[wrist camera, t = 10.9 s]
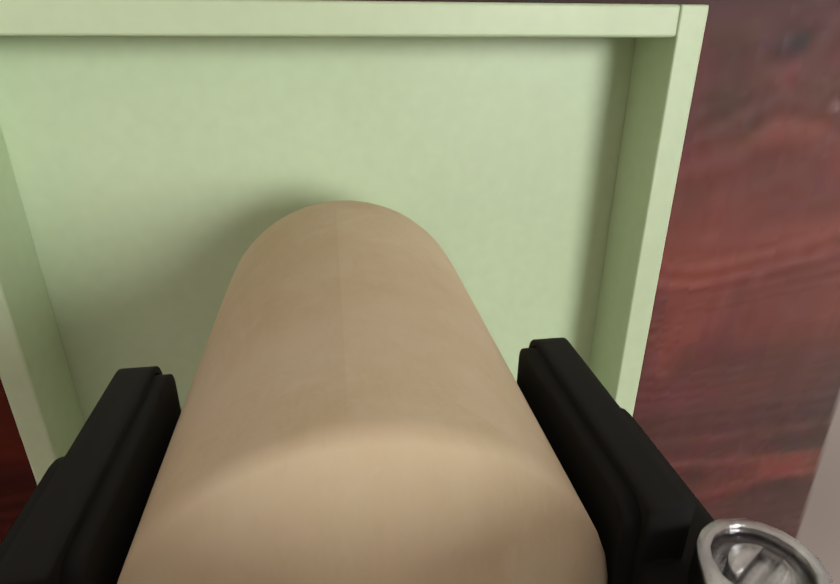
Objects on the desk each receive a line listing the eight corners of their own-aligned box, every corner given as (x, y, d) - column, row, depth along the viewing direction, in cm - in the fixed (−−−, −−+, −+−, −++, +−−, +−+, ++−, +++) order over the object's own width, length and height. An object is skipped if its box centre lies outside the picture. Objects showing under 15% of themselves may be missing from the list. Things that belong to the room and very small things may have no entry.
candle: (250, 414, 15) (137, 993, 6) (208, 207, 13) (-77, 642, 4) (459, 388, 16) (643, 878, 7) (455, 187, 13) (729, 516, 4)
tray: (653, 8, 16) (710, 4, 13) (591, 416, 21) (624, 463, 19) (-53, 1, 13) (-133, -6, 11) (83, 462, 19) (48, 523, 17)
